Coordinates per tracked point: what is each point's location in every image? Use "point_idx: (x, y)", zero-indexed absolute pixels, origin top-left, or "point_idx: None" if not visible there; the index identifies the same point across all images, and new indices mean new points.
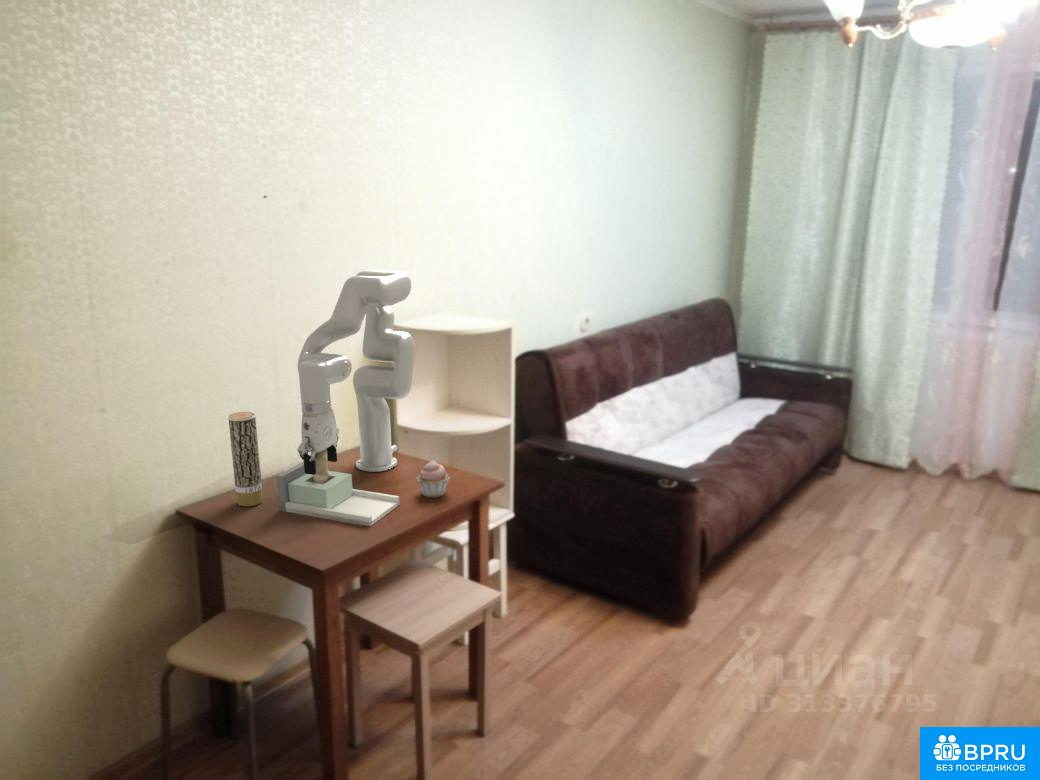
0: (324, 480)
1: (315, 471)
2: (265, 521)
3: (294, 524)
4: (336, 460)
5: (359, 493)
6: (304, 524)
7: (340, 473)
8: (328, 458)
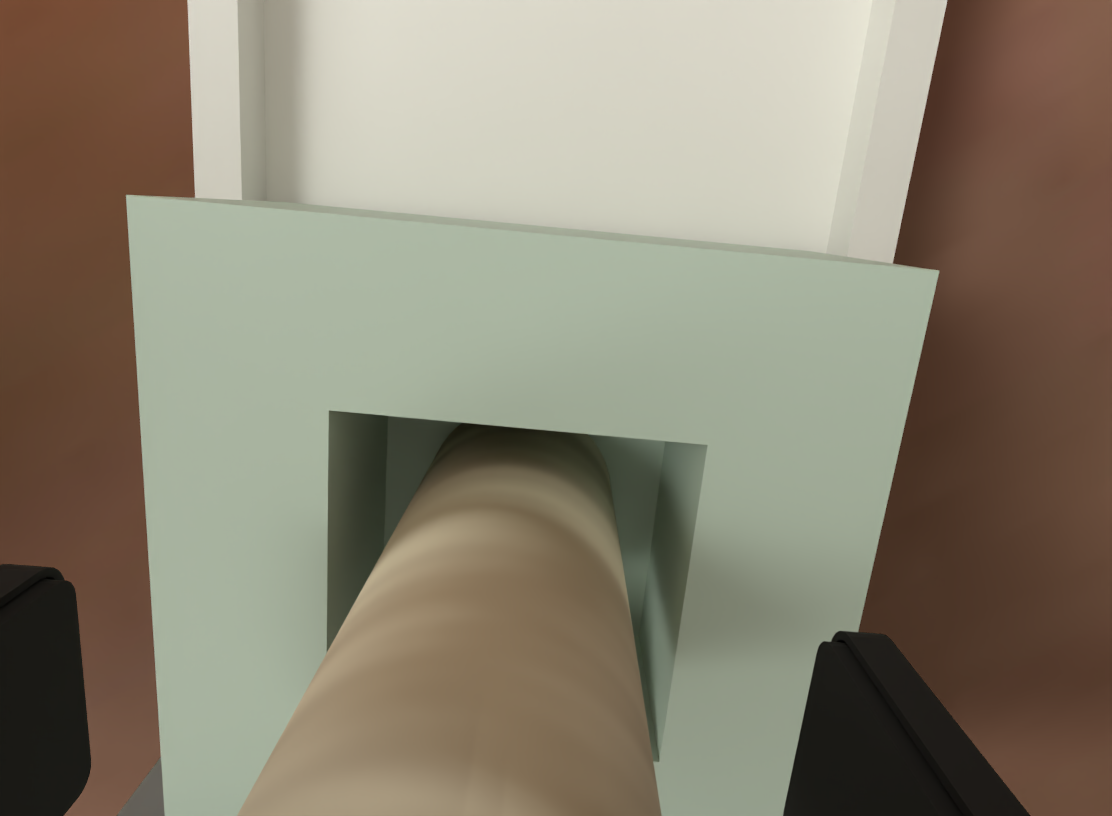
0: (574, 492)
1: (878, 663)
2: (995, 729)
3: (1027, 467)
4: (17, 574)
5: (251, 108)
6: (1015, 377)
7: (178, 405)
8: (42, 776)
